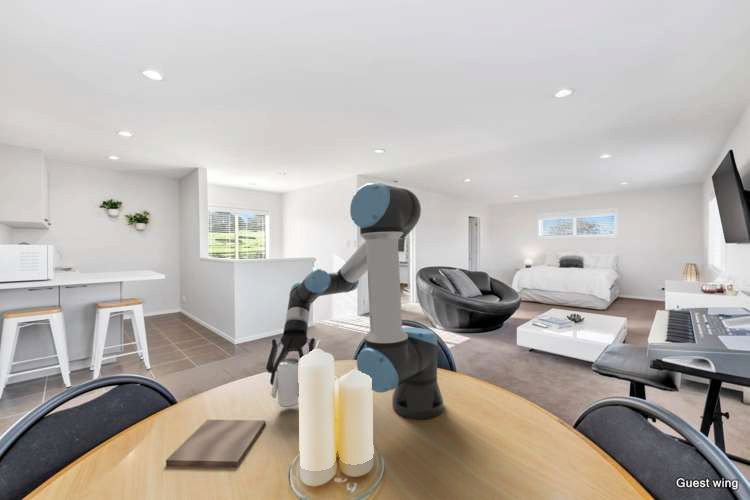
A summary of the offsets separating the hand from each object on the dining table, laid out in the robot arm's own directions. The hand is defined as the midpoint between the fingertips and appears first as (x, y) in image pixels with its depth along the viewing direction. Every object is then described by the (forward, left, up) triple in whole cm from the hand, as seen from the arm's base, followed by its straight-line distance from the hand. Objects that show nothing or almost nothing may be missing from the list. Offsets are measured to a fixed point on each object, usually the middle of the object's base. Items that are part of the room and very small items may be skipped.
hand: (286, 395), depth 89 cm
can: (0, -3, -4) cm, 5 cm away
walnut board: (+12, +13, -6) cm, 19 cm away
